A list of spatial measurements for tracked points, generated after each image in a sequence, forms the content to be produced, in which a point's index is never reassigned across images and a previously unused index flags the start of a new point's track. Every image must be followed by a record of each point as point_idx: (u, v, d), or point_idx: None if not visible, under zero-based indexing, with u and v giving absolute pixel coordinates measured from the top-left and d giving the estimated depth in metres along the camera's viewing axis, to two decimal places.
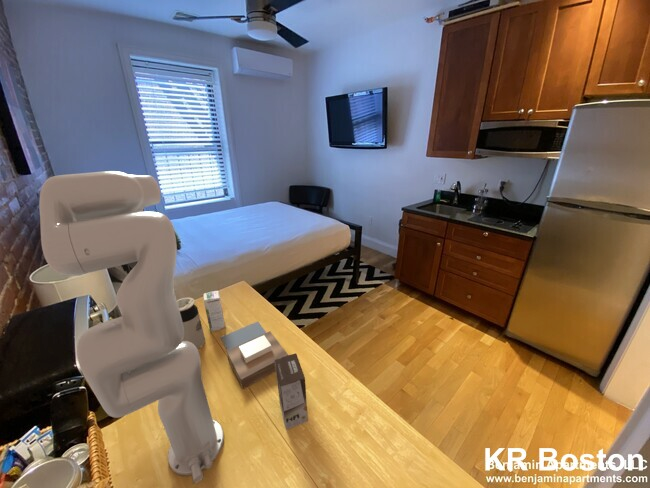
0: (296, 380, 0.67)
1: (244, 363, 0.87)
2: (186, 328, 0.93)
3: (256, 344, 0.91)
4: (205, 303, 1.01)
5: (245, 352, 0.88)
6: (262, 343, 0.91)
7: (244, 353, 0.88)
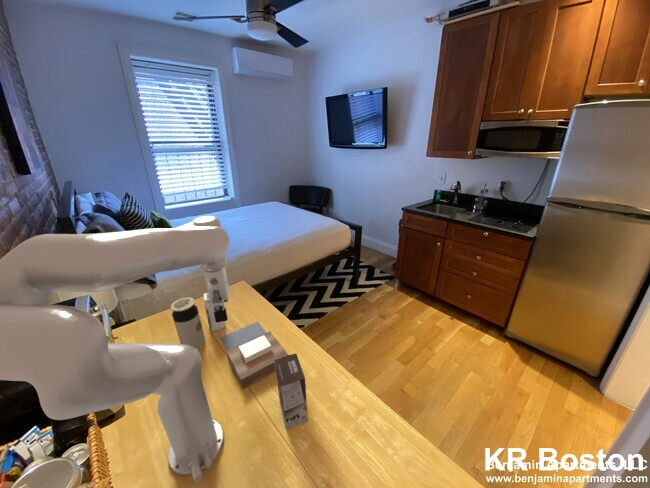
0: (296, 380, 0.67)
1: (244, 363, 0.87)
2: (186, 328, 0.93)
3: (256, 344, 0.91)
4: (205, 303, 1.01)
5: (245, 352, 0.88)
6: (262, 343, 0.91)
7: (244, 353, 0.88)
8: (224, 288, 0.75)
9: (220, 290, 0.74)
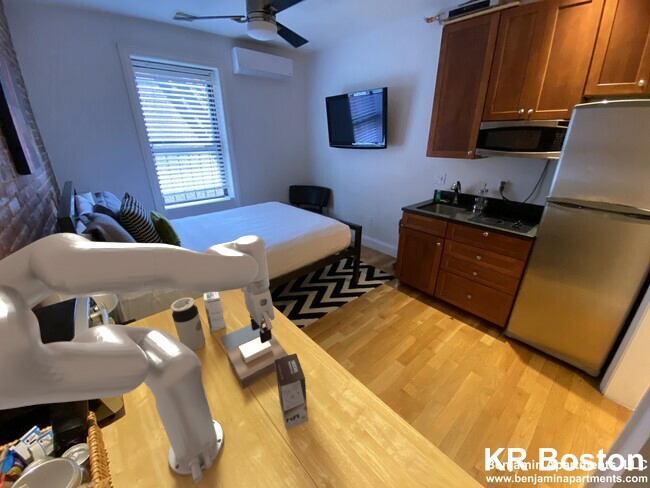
0: (296, 380, 0.67)
1: (244, 363, 0.87)
2: (186, 328, 0.93)
3: (256, 344, 0.91)
4: (205, 303, 1.01)
5: (245, 352, 0.88)
6: (262, 343, 0.91)
7: (244, 353, 0.88)
8: (272, 307, 0.73)
9: (269, 310, 0.72)
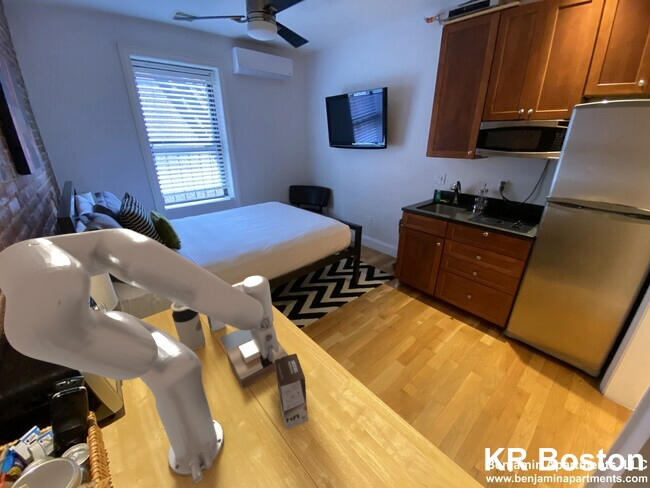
0: (296, 380, 0.67)
1: (244, 363, 0.87)
2: (186, 328, 0.93)
3: None
4: None
5: (245, 352, 0.88)
6: None
7: (244, 353, 0.88)
8: (276, 341, 0.78)
9: (273, 344, 0.77)
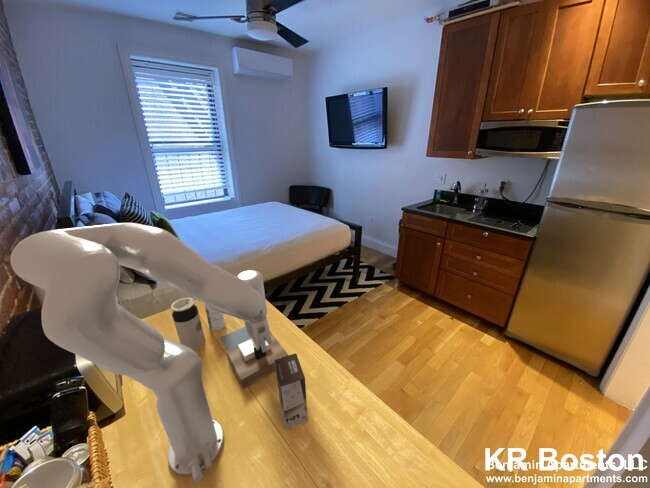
0: (296, 380, 0.67)
1: (244, 363, 0.87)
2: (186, 328, 0.93)
3: None
4: (205, 303, 1.01)
5: (244, 350, 0.89)
6: None
7: (243, 351, 0.88)
8: (269, 333, 0.81)
9: (266, 336, 0.80)
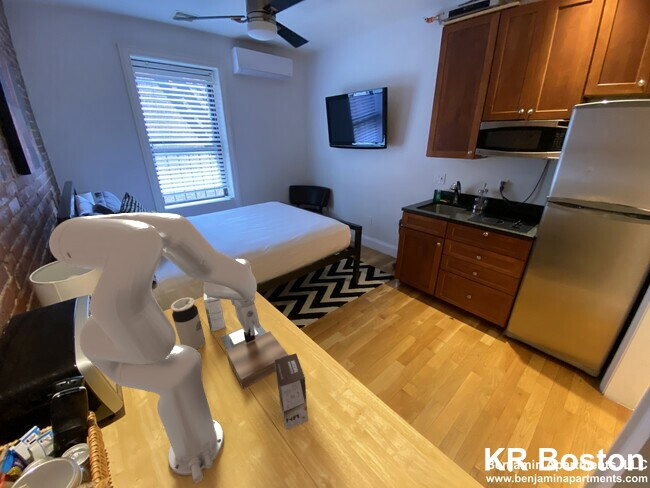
0: (296, 380, 0.67)
1: (244, 363, 0.87)
2: (186, 328, 0.93)
3: None
4: (205, 303, 1.01)
5: None
6: None
7: None
8: (257, 318, 0.88)
9: (255, 320, 0.87)
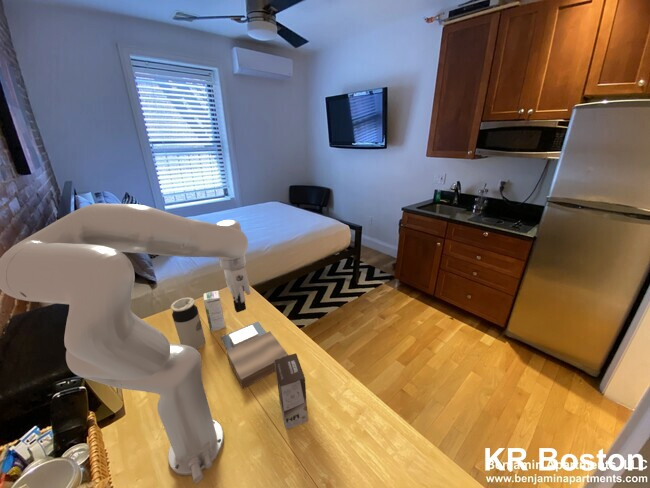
0: (296, 380, 0.67)
1: (244, 363, 0.87)
2: (186, 328, 0.93)
3: None
4: (205, 303, 1.01)
5: None
6: None
7: None
8: (248, 283, 0.83)
9: (245, 285, 0.83)
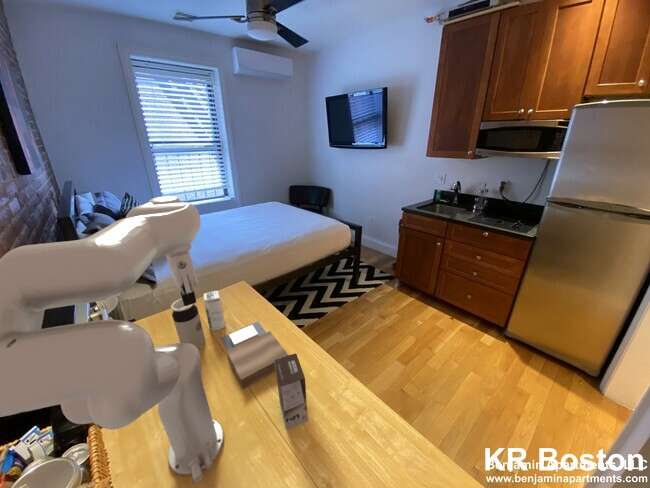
0: (296, 380, 0.67)
1: (244, 363, 0.87)
2: (186, 328, 0.93)
3: None
4: (205, 303, 1.01)
5: None
6: None
7: None
8: (193, 271, 0.71)
9: (189, 274, 0.70)
